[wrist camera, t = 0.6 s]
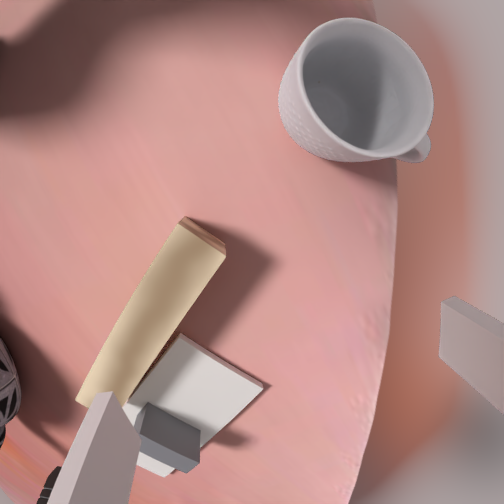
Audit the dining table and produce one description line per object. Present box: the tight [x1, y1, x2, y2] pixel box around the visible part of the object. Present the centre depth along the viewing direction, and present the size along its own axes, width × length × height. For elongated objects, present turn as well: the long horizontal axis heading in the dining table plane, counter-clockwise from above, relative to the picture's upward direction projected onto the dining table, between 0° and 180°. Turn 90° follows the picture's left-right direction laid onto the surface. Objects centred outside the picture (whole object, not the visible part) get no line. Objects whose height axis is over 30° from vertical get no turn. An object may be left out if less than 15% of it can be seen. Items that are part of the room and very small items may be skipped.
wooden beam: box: [75, 217, 226, 409], centre depth 31 cm, size 5×24×6 cm, turn 145°
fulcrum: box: [122, 333, 263, 477], centre depth 33 cm, size 12×24×7 cm, turn 141°
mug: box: [278, 18, 434, 163], centre depth 25 cm, size 15×11×13 cm
